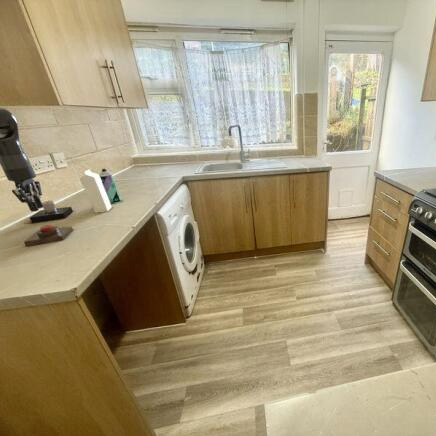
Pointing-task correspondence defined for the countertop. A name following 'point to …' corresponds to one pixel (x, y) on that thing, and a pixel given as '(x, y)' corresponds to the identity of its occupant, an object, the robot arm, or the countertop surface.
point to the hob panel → (51, 215)
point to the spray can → (110, 186)
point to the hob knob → (49, 207)
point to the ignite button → (46, 228)
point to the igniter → (48, 236)
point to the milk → (95, 192)
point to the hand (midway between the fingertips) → (37, 209)
